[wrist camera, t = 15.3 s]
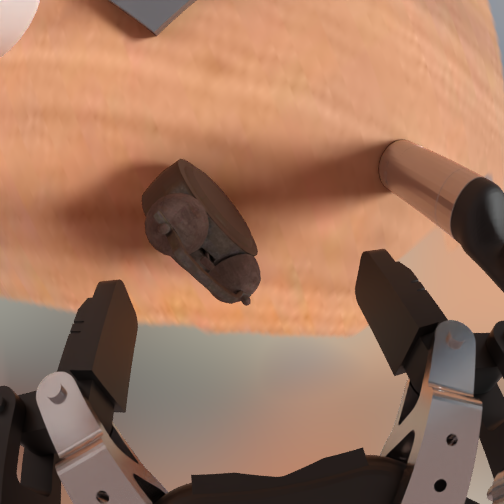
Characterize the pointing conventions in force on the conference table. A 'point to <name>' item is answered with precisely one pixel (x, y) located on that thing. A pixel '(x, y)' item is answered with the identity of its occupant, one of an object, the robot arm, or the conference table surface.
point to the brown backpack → (202, 232)
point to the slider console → (153, 11)
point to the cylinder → (14, 21)
